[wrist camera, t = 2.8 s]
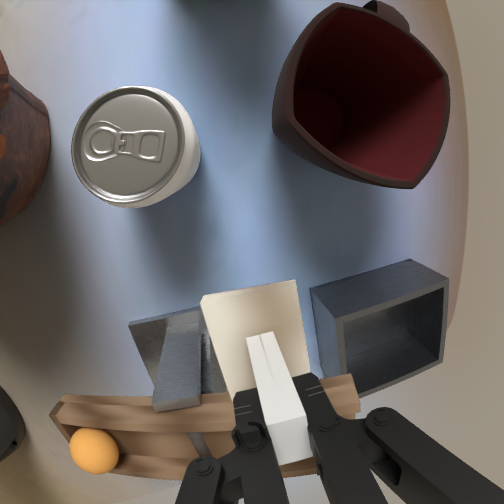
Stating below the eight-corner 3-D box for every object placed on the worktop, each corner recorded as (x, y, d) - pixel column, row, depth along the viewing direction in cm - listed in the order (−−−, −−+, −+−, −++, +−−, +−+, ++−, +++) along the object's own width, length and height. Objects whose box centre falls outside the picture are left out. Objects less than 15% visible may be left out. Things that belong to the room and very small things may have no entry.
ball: (96, 446, 21) (78, 478, 17) (73, 414, 20) (52, 446, 16) (133, 451, 21) (117, 487, 17) (111, 418, 20) (91, 455, 16)
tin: (320, 366, 32) (342, 404, 25) (309, 288, 29) (334, 318, 23) (410, 333, 32) (442, 362, 26) (409, 258, 30) (448, 278, 24)
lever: (100, 448, 23) (89, 469, 20) (26, 319, 19) (4, 336, 16) (353, 438, 20) (359, 465, 17) (341, 270, 16) (354, 291, 14)
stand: (168, 408, 31) (160, 489, 20) (130, 321, 28) (97, 397, 17) (258, 390, 31) (279, 471, 21) (234, 298, 28) (249, 370, 18)
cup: (235, 149, 25) (257, 131, 14) (294, 17, 23) (343, -54, 11) (340, 194, 27) (421, 213, 16) (387, 67, 25) (469, 31, 13)
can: (131, 113, 23) (77, 76, 12) (207, 122, 24) (206, 83, 13) (119, 189, 25) (56, 206, 13) (194, 198, 26) (182, 221, 14)
